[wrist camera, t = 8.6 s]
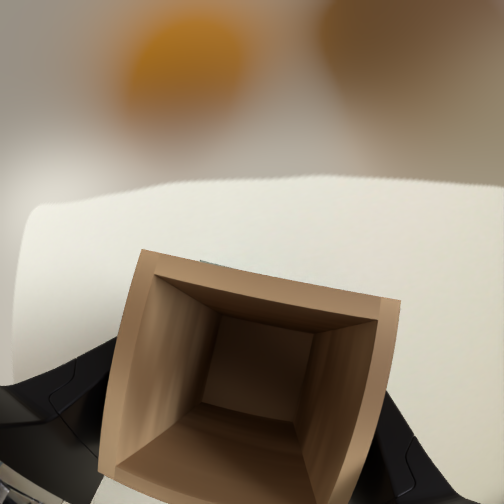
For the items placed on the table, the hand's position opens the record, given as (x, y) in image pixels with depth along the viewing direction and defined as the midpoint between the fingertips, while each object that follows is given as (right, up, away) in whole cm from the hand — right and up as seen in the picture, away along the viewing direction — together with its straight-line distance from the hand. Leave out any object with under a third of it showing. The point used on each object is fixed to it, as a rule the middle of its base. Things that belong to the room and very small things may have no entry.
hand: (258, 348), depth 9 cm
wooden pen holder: (0, -3, +6) cm, 7 cm away
